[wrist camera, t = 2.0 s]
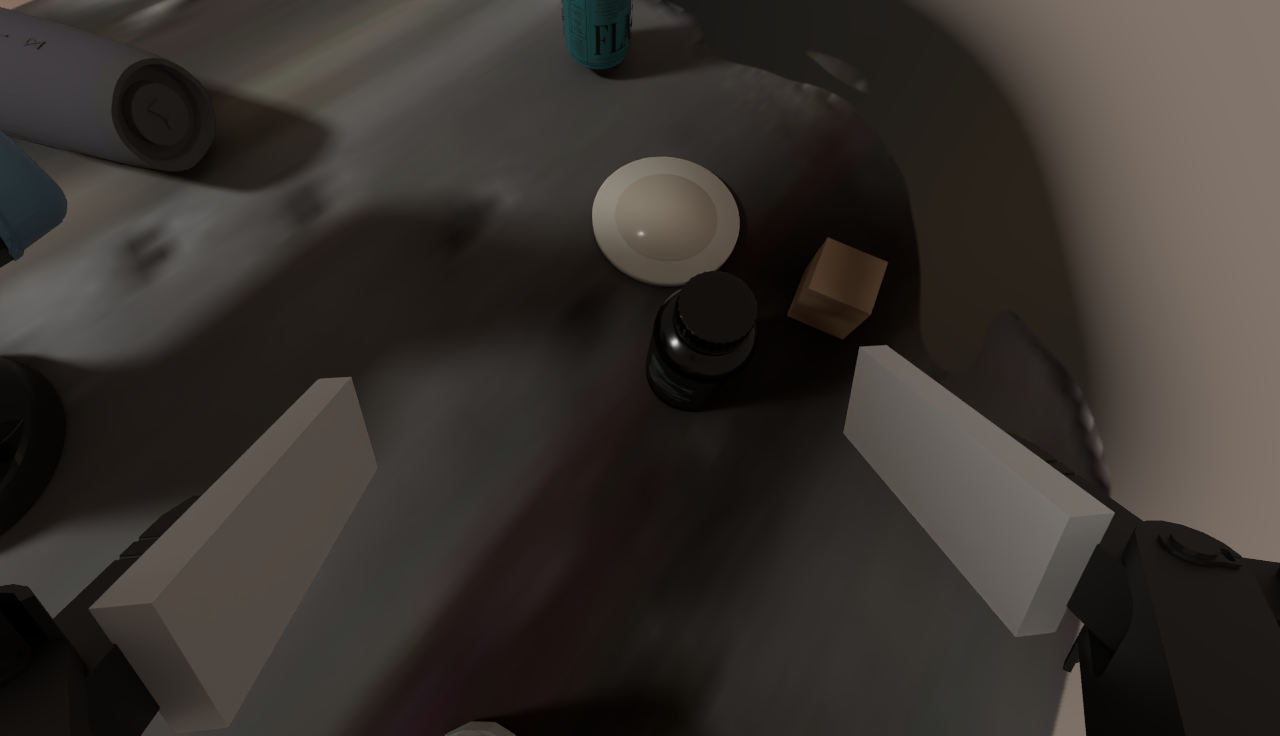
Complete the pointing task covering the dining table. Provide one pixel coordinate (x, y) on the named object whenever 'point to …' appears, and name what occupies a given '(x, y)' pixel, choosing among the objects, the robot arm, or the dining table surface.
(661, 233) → the plate
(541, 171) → the dining table surface
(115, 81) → the bluetooth speaker
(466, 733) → the white cup
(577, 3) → the beverage bottle
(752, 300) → the supplement bottle
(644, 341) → the dining table surface
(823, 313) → the walnut block
